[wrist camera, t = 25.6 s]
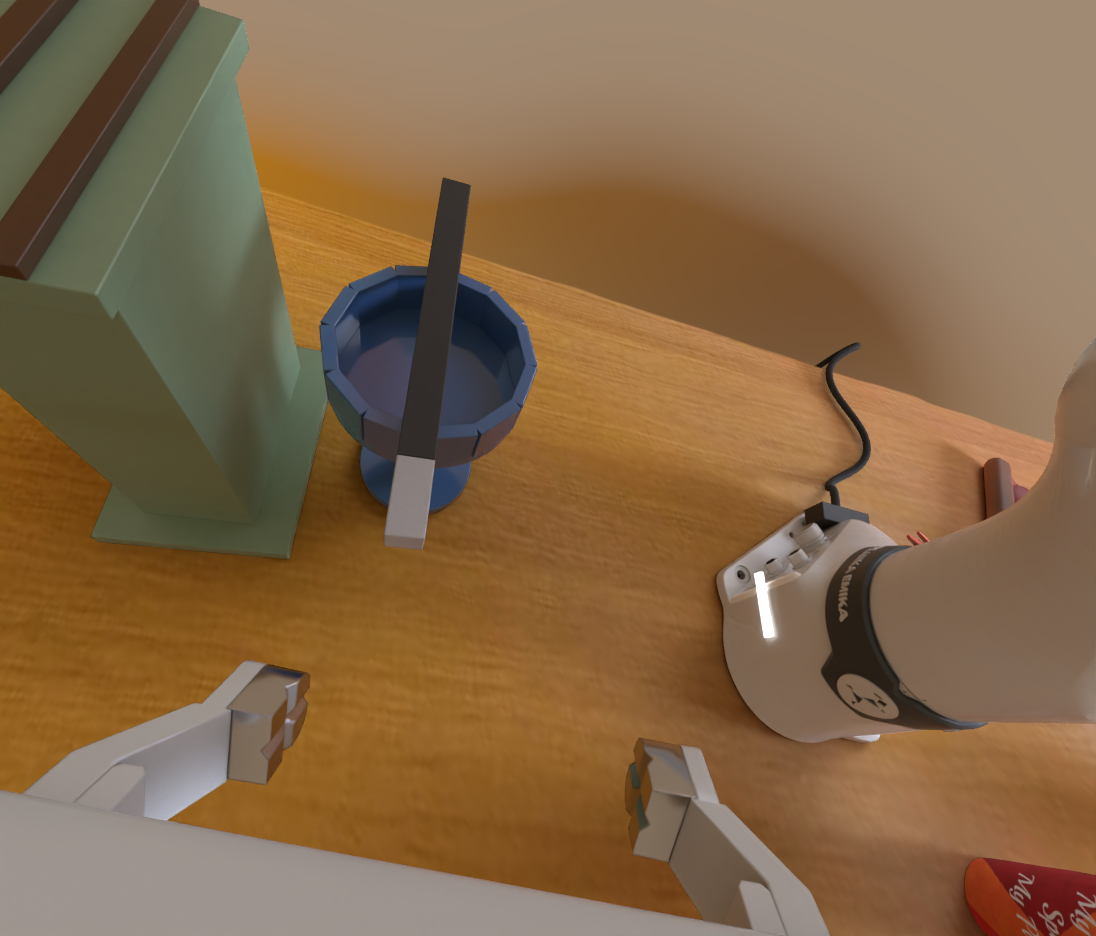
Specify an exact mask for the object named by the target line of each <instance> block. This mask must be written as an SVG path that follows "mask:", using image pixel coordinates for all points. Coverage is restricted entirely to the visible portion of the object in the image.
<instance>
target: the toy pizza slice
mask: <svg viewBox="0 0 1096 936" xmlns="http://www.w3.org/2000/svg"><path fill="white" fill-rule="evenodd" d="M984 480H985V496H986V512H987V519H988V518H990V517H992V516H994V515H996V514H998V513H1000V512H1002V511H1004V510H1005V509H1007V508H1008V507H1010V506H1011V505H1013V504H1014V503H1016V502H1017V501H1018V500H1019V499H1020V498H1022V497H1023V496H1024V495H1025V494H1026V493H1027V492H1028V491H1029V490H1028V489H1026V488H1024V487H1022V486H1019V485H1018V484H1017V483H1016V482H1015V481H1014V480H1013V479H1012V475H1011V468H1010V465H1009V463H1007V462H1006V461H1004V460H1002V459H1001V458H992V459H989V460H988V461H987V462H986V463H985V464H984Z"/></svg>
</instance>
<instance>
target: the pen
mask: <svg viewBox="0 0 1096 936" xmlns="http://www.w3.org/2000/svg"><path fill="white" fill-rule="evenodd" d="M470 187H471V186H470V185H469V184H465V183H461V182H458V181H454V180H450V179H447V178H443V180H442V185H441V192H440V198H439V204H438V210H437V216H436V222H435V228H434V234H433V240H432V246H431V252H430V258H429V264H428V270H427V276H426V282H425V288H424V294H423V300H422V306H421V312H420V318H419V324H418V330H417V336H416V342H415V348H414V354H413V360H412V366H411V372H410V378H409V384H408V390H407V397H406V403H405V409H404V415H403V421H402V427H401V433H400V439H399V445H398V451H397V457H396V463H395V469H394V475H393V481H392V487H391V493H390V499H389V505H388V511H387V517H386V523H385V529H384V546H388V547H398V548H408V549H418V550H422V548H423V545H424V541H425V537H426V529H427V521H428V514H429V506H430V498H431V490H432V482H433V475H434V467H435V459H436V451H437V444H438V436H439V428H440V420H441V413H442V405H443V397H444V389H445V381H446V374H447V366H448V358H449V350H450V343H451V335H452V327H453V319H454V311H455V304H456V296H457V288H458V280H459V273H460V265H461V257H462V249H463V241H464V234H465V226H466V218H467V209H468V203H469V195H470Z"/></svg>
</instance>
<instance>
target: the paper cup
mask: <svg viewBox="0 0 1096 936" xmlns="http://www.w3.org/2000/svg"><path fill="white" fill-rule="evenodd" d="M965 894H966V899H967V903H968V906H969V909H970V911H971V913H972V916H973V918H974V919H975V921H976V923H977V924H978V926H979V927H980V928H981V930H982V931H983V932H984V933H985V934H986V935H987V936H1096V875H1092V874H1086V873H1081V872H1075V871H1070V870H1063V869H1056V868H1049V867H1042V866H1036V865H1030V864H1024V863H1017V862H1011V861H1005V860H998V859H990V858H978V859H975V860H974V861H972V862H971V864H970V865H969V867H968V869H967V871H966V875H965Z"/></svg>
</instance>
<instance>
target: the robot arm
mask: <svg viewBox="0 0 1096 936" xmlns="http://www.w3.org/2000/svg"><path fill="white" fill-rule="evenodd" d="M860 346H861V345H860V343H854V344H851V345H848V346H846V347H844V348H843V349H841V350H839V351H837V352H835V353H834V354H832V355H831V356H829V357H827V358H826V359H824V360H823V361H821V362H820V363H819V364H817V365H815V367H818V368H822V367H823V366H825V365H826V364H828V363H829V364H828V366H827V368H826V373H825V374H826V381H827V384H828V387H829V389H830V391H831V393H832V395H833V396H834V398H835V399H836V401H837V402H838V404H839V405H840V406H841V408H842V409H843V410H844V412H845V413H846V414H847V415H848V417H849V418H850V419H851V421H852V422H853V424H854V425H855V427H856V428H857V430H858V432H859V434H860V436H861V439H862V442H863V454H862V457H861V459H860V460H859V462H858V463H857V464H855V465H854V466H853V467H851V468H849V469H848V470H846V471H844V472H842V473H839V474H837V475H836V476H834V477H832V478H831V479H830V480H829V481H828V482H827V483H826V484H825V489H826V490H827V491H829V492H830V496H831V504H829V503H826V502H820V503H818V504H816V505H814V506H812V507H810V508H808V509H806V510H804V512H802V513H801V514H799V515H798V516H796V517H795V518H794V519H792V520H791V521H789V522H788V523H787V524H785V525H784V526H782V527H781V528H780V529H778V530H777V531H775V532H774V533H773V534H771V535H770V536H768V537H767V538H766V539H764V540H763V541H761V542H760V543H759V544H757V545H756V546H754V547H753V548H752V549H750V550H749V551H747V552H746V553H745V554H743V555H742V556H740V557H739V558H738V559H736V560H735V561H733V562H732V563H731V564H729V565H728V566H726V567H725V568H724V569H722V570H721V571H720V572H719V573H718V575H717V578H716V582H717V588H718V592H719V596H720V599H721V602H722V606H723V611H724V623H723V643H724V651H725V656H726V661H727V665H728V668H729V671H730V674H731V676H732V679H733V681H734V683H735V685H736V687H737V689H738V691H739V693H740V695H741V696H742V698H743V699H744V701H745V702H746V704H747V705H748V706H749V708H750V709H751V710H752V711H753V713H754V714H755V715H756V716H757V717H758V718H759V719H760V720H761V721H762V722H763V723H765V724H766V725H767V726H768V727H770V728H771V729H772V730H774V731H775V732H777V733H779V734H781V735H783V736H784V737H787V738H789V739H792V740H795V741H799V742H805V743H817V742H823V741H826V740H830V739H835V738H841V737H842V738H845V739H848V740H852V741H856V742H861V743H866V742H874V741H876V740H878V739H879V737H880V734H889V733H899V732H909V731H918V730H943V731H944V732H954V731H960V730H964V729H975V728H979V727H982V726H984V725H986V724H988V723H989V722H995V723H1078V724H1096V338H1095V339H1094V340H1093V341H1092V343H1091V344H1090V345H1089V346H1088V347H1087V348H1086V350H1085V351H1084V352H1083V353H1082V354H1081V356H1080V357H1079V358H1078V360H1077V361H1076V363H1075V364H1074V366H1073V368H1072V369H1071V371H1070V373H1069V374H1068V376H1067V378H1066V380H1065V382H1064V385H1063V387H1062V390H1061V393H1060V395H1059V399H1058V402H1057V407H1056V412H1055V422H1054V423H1055V437H1054V443H1053V449H1052V453H1051V457H1050V460H1049V462H1048V465H1047V467H1046V468H1045V470H1044V472H1043V474H1042V475H1041V477H1040V478H1039V480H1038V481H1037V482H1036V484H1035V485H1034V486H1033V487H1032V488H1031V489H1030V490H1029V491H1028V492H1027V493H1026V494H1025V495H1024V496H1023V497H1022V498H1020V499H1019V500H1018V501H1017V502H1016V503H1014V504H1013V505H1011V506H1010V507H1008V508H1007V509H1005V510H1004V511H1002V512H1000V513H998V514H996V515H994V516H992V517H990V518H988V519H986V520H983V521H981V522H978V523H976V524H974V525H971V526H969V527H966V528H964V529H961V530H958V531H956V532H953V533H950V534H948V535H945V536H942V537H939V538H936V539H933V540H931V541H929V540H928V539H927V538H926V537H925V536H924V535H923V534H922V533H921V532H919V531H918V532H917V534H918V536H919V537H920V538H921V539H922V541H923V542H924V543H923V542H921V541H920V540H918V539H916V538H915V537H913V536H911V535H907V538H908V540H909V541H910V542H911V543H912V544H913V545H914V546H899V545H897V544H896V543H895V542H894V541H893V540H892V539H890V538H889V537H888V536H887V535H885V534H884V533H883V532H882V531H880V530H879V529H877V528H876V527H874V526H872V525H870V523H869V516H868V514H865V513H862V512H858V511H855V510H851V509H847V508H844V507H840V499H839V493H838V490H837V488H836V487H835V486H834V485H835V484H836V483H838V482H839V481H841V480H843V479H845V478H847V477H849V476H851V475H853V474H855V473H856V472H858V471H859V470H860V469H862V468H863V467H864V466H865V464H866V463H867V461H868V460H869V457H870V453H871V446H870V440H869V437H868V434H867V432H866V430H865V428H864V426H863V425H862V423H861V422H860V420H859V419H858V417H857V416H856V415H855V413H854V412H853V411H852V409H851V408H850V407H849V405H848V404H847V403H846V402H845V400H844V399H843V397H842V396H841V394H840V393H839V391H838V390H837V388H836V386H835V383H834V380H833V368H834V366H835V364H836V363H837V362H838V361H839V360H840V359H842V358H843V357H844V356H846V355H848V354H849V353H851V352H853V351H855V350H857V349H859V348H860ZM737 573H739V575H740V577H741V579H739V578H738V576H737ZM309 687H310V675H309V673H307V672H302V671H298V670H293V669H289V668H284V667H280V666H275V665H271V664H265V663H260V662H255V661H251V660H247V661H245V662H243V663H241V664H240V665H239V666H238V667H237V668H236V669H235V670H234V671H233V672H232V673H231V674H230V675H229V676H228V677H227V678H226V679H225V680H224V681H223V682H222V683H221V684H220V685H219V686H218V687H217V688H216V689H215V690H214V691H213V692H212V693H211V694H210V695H209V696H208V698H207V699H206V700H205V701H204V702H203V703H202V704H198V703H193V704H191V705H188V706H186V707H183V708H181V709H178V710H175V711H173V712H170V713H168V714H165V715H163V716H160V717H158V718H155V719H153V720H150V721H148V722H145V723H143V724H140V725H137V726H135V727H132V728H130V729H127V730H125V731H122V732H120V733H117V734H115V735H112V736H110V737H107V738H105V739H102V740H99V741H97V742H94V743H92V744H89V745H87V746H84V747H82V748H79V749H77V750H74V751H72V752H71V753H69V754H68V755H67V756H66V757H65V758H63V759H62V760H61V761H60V762H59V763H57V764H56V765H55V766H54V767H53V768H51V769H50V770H49V771H48V772H47V773H45V774H44V775H43V776H42V777H41V778H40V779H38V780H37V781H36V782H35V783H34V784H32V785H31V786H30V787H29V788H28V789H26V790H25V791H24V792H23V793H22V794H20V793H15V792H10V791H4V790H0V936H830V934H829V931H828V929H827V927H826V925H825V923H824V920H823V918H822V916H821V914H820V911H819V909H818V907H817V905H816V903H815V900H814V898H813V896H812V894H811V892H810V891H809V890H808V889H807V888H806V887H805V885H804V884H803V883H802V882H801V881H800V880H799V879H798V878H797V877H796V876H795V875H794V874H793V873H792V872H791V871H790V870H789V869H788V868H787V867H786V866H785V865H784V864H783V863H782V862H781V861H780V860H779V859H778V858H777V857H776V856H775V855H774V854H773V853H772V852H771V851H770V850H769V849H768V848H767V847H766V846H765V845H764V844H763V843H762V842H761V841H760V840H759V838H758V837H757V836H756V835H755V834H754V833H753V832H752V831H751V830H750V829H749V828H748V827H747V826H746V825H745V824H744V823H743V822H742V821H741V820H740V819H739V818H738V817H737V816H736V815H735V814H734V813H733V812H732V811H731V810H730V809H729V808H728V807H727V806H726V805H723V804H720V803H719V800H718V797H717V794H716V791H715V788H714V785H713V783H712V780H711V777H710V774H709V771H708V768H707V765H706V763H705V760H704V757H703V754H702V751H701V750H700V749H699V748H697V747H691V746H685V745H676V744H671V743H666V742H660V741H655V740H650V739H644V738H638V740H637V742H636V744H635V748H634V756H635V762H633V763H632V764H631V765H629V768H628V772H627V775H626V781H625V806H626V810H627V812H628V813H629V814H630V816H631V820H630V823H629V827H628V828H629V835H630V842H631V849H632V855H637V856H641V857H646V858H650V859H655V860H659V861H664V862H668V863H669V864H668V865H669V866H670V868H671V869H672V871H673V872H674V874H675V876H676V877H677V879H678V880H679V882H680V883H681V885H682V886H683V888H684V890H685V891H686V893H687V894H688V896H689V897H690V899H691V900H692V902H693V904H694V905H695V907H696V908H697V910H698V911H699V913H700V914H701V916H702V918H703V919H704V921H703V920H697V919H692V918H686V917H681V916H676V915H670V914H665V913H659V912H654V911H648V910H643V909H637V908H632V907H626V906H621V905H615V904H610V903H605V902H599V901H594V900H589V899H584V898H578V897H573V896H568V895H562V894H557V893H552V892H546V891H541V890H536V889H530V888H525V887H520V886H514V885H509V884H504V883H498V882H493V881H488V880H482V879H477V878H472V877H466V876H461V875H455V874H450V873H445V872H439V871H434V870H428V869H423V868H417V867H412V866H407V865H401V864H396V863H390V862H385V861H380V860H374V859H369V858H363V857H358V856H352V855H347V854H342V853H336V852H331V851H326V850H320V849H315V848H310V847H304V846H299V845H293V844H288V843H283V842H277V841H272V840H267V839H261V838H256V837H251V836H245V835H240V834H234V833H229V832H224V831H218V830H213V829H208V828H202V827H197V826H192V825H186V824H181V823H175V822H170V821H166V820H168V819H169V818H171V817H173V816H174V815H176V814H177V813H179V812H180V811H182V810H183V809H185V808H186V807H188V806H189V805H191V804H193V803H194V802H196V801H197V800H199V799H200V798H202V797H203V796H205V795H206V794H208V793H209V792H211V791H213V790H214V789H216V788H217V787H219V786H220V785H222V784H223V783H225V782H226V781H227V779H230V780H236V781H242V782H249V783H255V784H261V785H266V784H267V783H268V781H269V780H270V778H271V777H272V775H273V774H274V772H275V771H276V769H277V768H278V766H279V765H280V763H281V762H282V755H283V750H285V749H287V748H289V747H291V746H292V745H293V743H294V742H295V740H296V739H297V737H298V735H299V733H300V731H301V729H302V726H303V724H304V721H305V717H306V713H307V706H308V703H307V701H306V700H305V698H304V695H305V693H306V692H307V690H308V689H309Z"/></svg>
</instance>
